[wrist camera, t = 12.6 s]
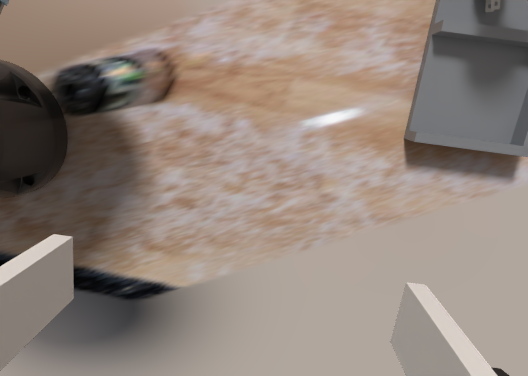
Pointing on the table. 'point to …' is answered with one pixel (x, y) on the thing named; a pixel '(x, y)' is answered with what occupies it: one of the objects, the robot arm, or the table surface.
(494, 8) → the push button
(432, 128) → the gray divided compartment tray
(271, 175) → the table surface
